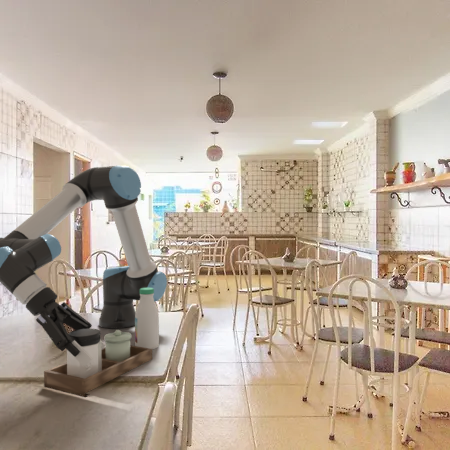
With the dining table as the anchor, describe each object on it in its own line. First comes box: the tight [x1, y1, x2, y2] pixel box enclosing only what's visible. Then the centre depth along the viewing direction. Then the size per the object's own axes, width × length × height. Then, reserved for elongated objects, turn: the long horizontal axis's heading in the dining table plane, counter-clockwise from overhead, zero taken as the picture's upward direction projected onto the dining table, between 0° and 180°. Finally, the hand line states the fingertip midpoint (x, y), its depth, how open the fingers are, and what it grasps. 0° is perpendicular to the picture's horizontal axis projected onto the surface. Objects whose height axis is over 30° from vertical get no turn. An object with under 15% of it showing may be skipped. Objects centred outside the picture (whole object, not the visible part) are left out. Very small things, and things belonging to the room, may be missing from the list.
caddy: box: [43, 344, 153, 398], centre depth 117 cm, size 27×14×4 cm, turn 154°
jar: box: [66, 328, 102, 378], centre depth 111 cm, size 9×8×12 cm
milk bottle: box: [134, 288, 160, 350], centre depth 138 cm, size 8×8×20 cm
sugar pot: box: [103, 329, 132, 362], centre depth 123 cm, size 8×8×10 cm
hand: (95, 355), depth 111 cm, fingers open, 10 cm apart
